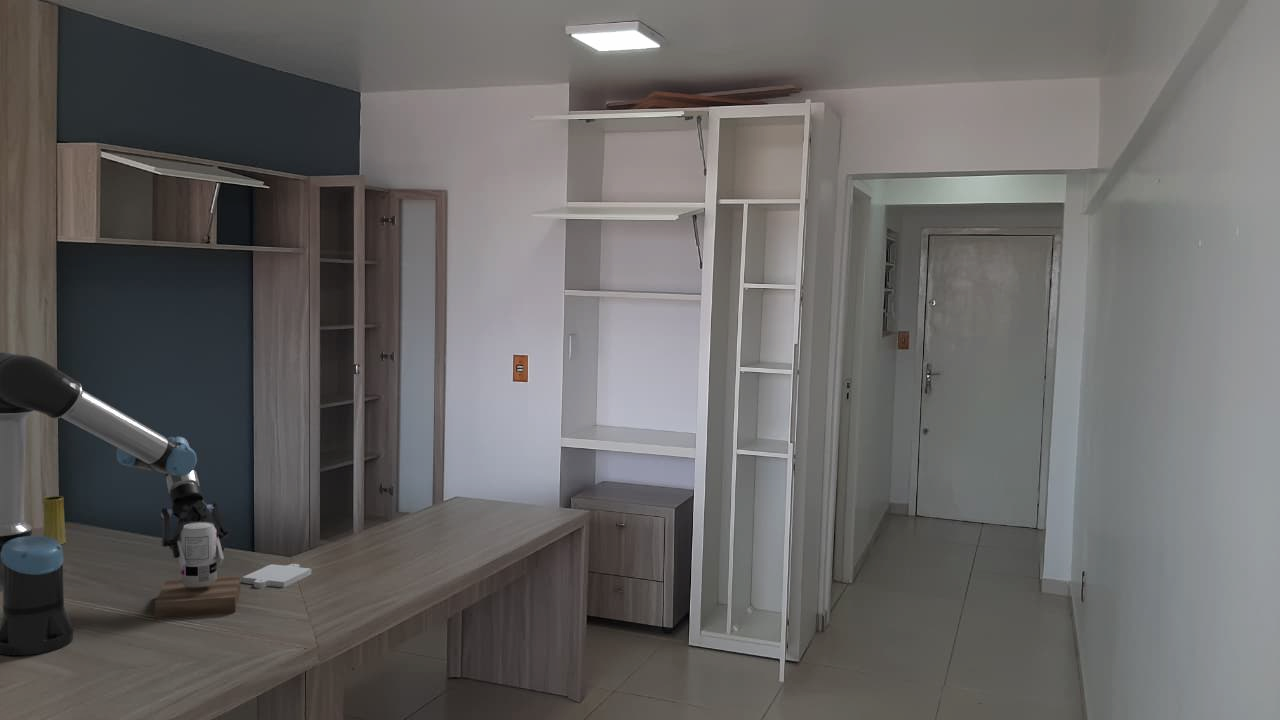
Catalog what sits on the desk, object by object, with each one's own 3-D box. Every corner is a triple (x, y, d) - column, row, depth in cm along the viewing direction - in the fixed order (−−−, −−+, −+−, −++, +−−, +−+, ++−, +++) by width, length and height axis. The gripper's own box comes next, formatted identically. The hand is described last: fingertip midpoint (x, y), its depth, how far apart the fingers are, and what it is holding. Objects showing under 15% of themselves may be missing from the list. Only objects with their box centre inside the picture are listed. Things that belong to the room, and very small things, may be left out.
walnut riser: (235, 612, 243) (234, 596, 243) (155, 618, 237) (155, 602, 237) (240, 590, 260) (240, 575, 260) (165, 595, 254) (165, 580, 254)
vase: (44, 542, 301) (43, 496, 300) (67, 540, 304) (66, 495, 302) (41, 547, 295) (40, 500, 294) (65, 545, 298) (64, 499, 297)
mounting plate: (276, 568, 282) (276, 561, 281) (316, 572, 278) (316, 566, 278) (236, 586, 264) (236, 579, 264) (278, 591, 261) (278, 584, 261)
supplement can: (174, 584, 246) (173, 526, 245) (202, 576, 254) (201, 519, 252) (195, 590, 243) (195, 531, 241) (223, 581, 250) (223, 524, 249)
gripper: (223, 493, 265) (242, 565, 254) (138, 502, 252) (154, 579, 241) (229, 477, 261) (249, 550, 250) (142, 486, 247) (159, 563, 236)
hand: (202, 564), depth 245 cm, fingers open, 8 cm apart
